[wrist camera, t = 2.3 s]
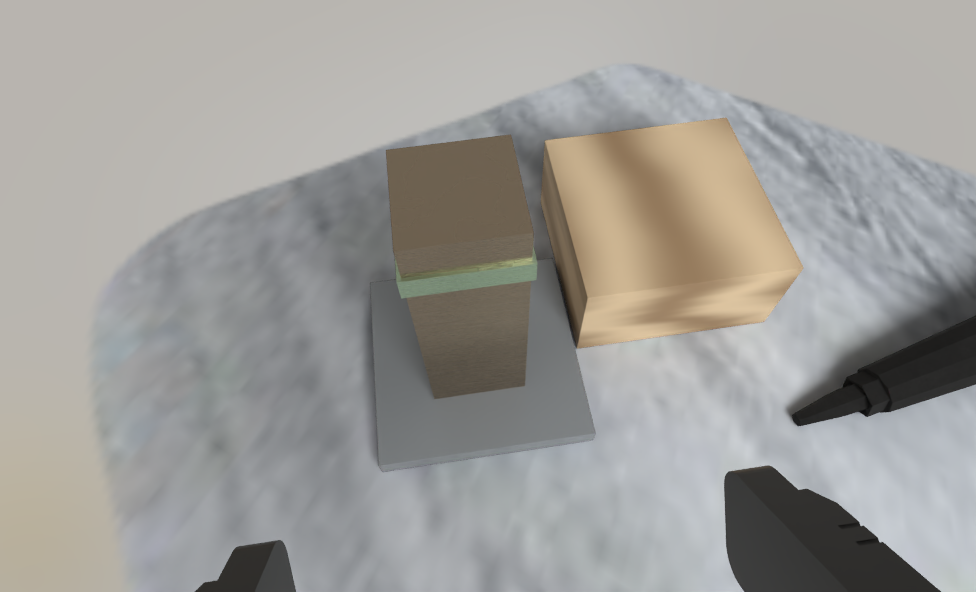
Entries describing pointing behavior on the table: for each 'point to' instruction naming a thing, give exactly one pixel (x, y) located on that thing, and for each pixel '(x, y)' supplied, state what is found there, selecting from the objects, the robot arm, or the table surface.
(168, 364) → the table surface
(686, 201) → the rest block
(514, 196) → the column
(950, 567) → the table surface
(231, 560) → the robot arm
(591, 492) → the table surface
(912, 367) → the microphone
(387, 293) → the coaster
